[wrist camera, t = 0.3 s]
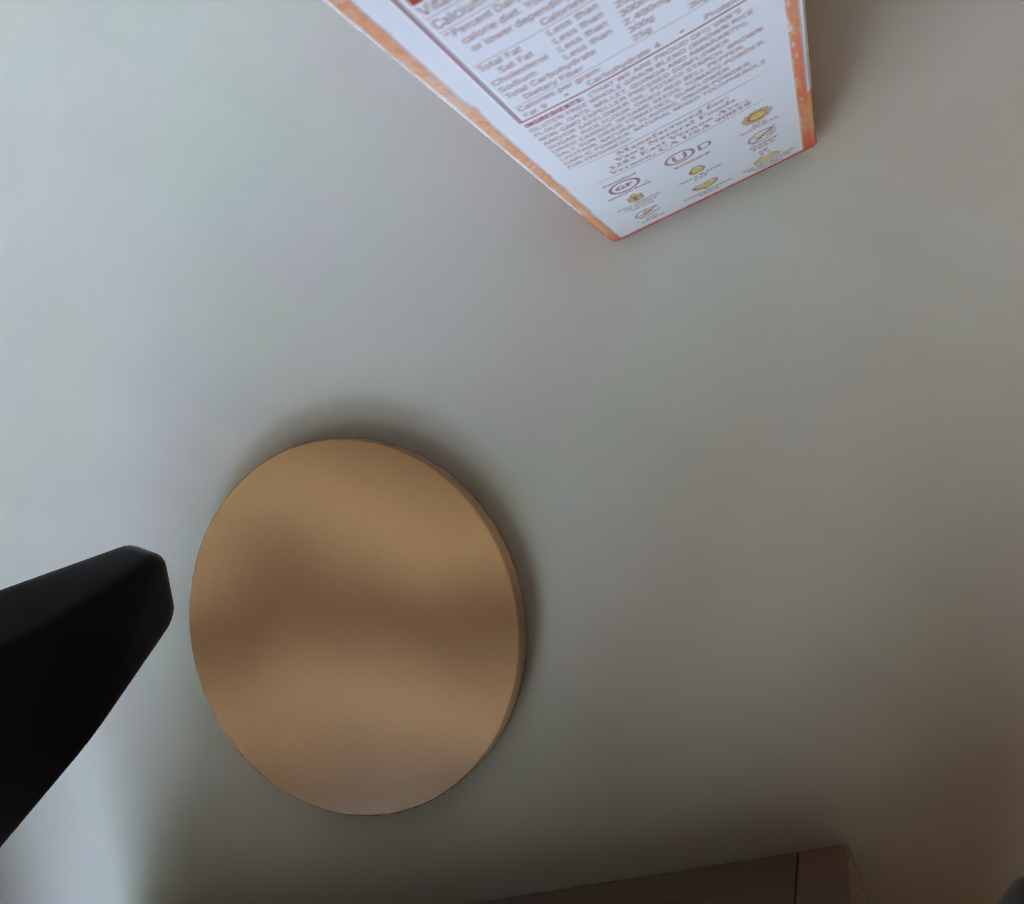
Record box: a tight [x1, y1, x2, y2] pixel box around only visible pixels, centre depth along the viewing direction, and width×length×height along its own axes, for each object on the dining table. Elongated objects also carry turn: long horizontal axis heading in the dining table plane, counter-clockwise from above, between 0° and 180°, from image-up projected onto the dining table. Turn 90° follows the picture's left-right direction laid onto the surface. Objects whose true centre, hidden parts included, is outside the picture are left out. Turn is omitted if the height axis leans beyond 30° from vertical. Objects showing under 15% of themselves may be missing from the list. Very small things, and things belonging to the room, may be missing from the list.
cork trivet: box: [190, 438, 526, 816], centre depth 26 cm, size 11×11×1 cm
